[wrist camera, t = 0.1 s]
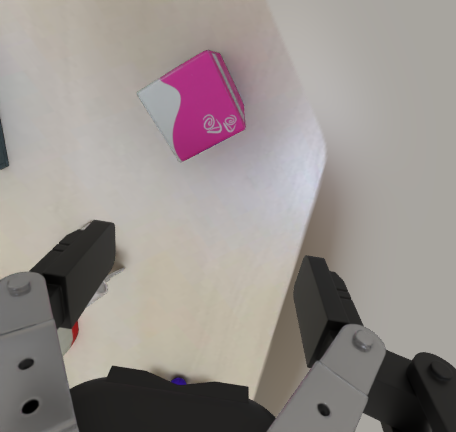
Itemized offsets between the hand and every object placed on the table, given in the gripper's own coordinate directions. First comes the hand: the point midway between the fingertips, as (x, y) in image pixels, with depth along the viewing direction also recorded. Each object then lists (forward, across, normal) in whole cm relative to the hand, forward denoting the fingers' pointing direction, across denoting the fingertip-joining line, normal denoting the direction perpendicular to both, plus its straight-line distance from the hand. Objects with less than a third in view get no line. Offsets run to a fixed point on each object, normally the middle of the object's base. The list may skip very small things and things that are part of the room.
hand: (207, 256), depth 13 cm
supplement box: (+23, +3, -4) cm, 23 cm away
